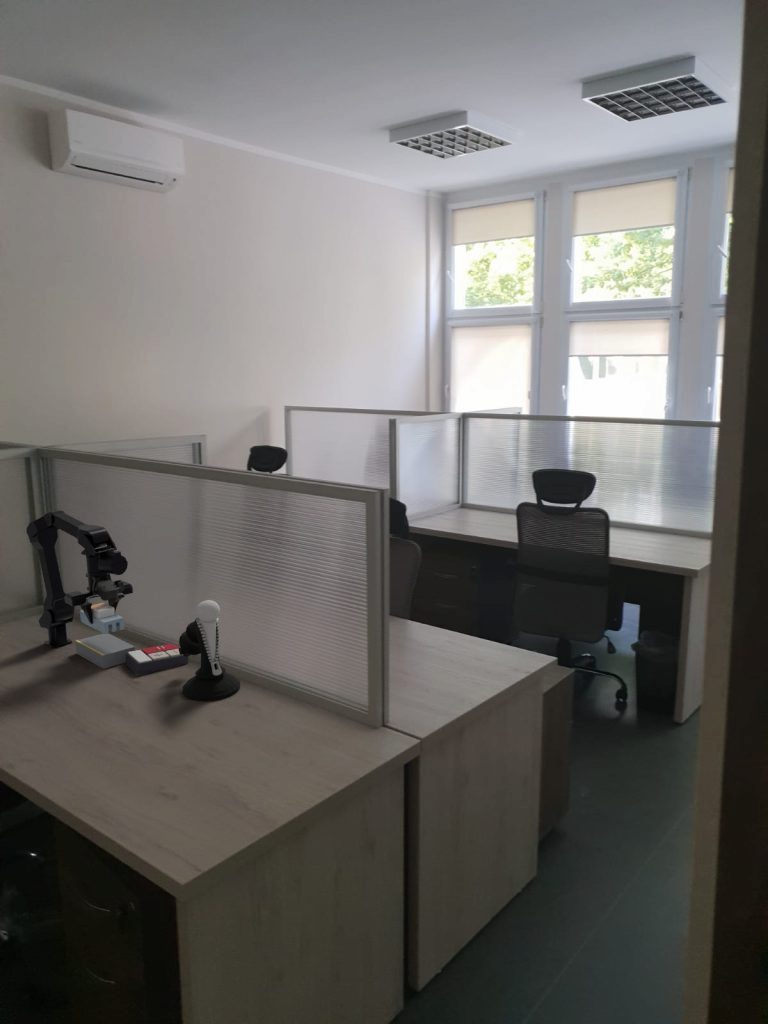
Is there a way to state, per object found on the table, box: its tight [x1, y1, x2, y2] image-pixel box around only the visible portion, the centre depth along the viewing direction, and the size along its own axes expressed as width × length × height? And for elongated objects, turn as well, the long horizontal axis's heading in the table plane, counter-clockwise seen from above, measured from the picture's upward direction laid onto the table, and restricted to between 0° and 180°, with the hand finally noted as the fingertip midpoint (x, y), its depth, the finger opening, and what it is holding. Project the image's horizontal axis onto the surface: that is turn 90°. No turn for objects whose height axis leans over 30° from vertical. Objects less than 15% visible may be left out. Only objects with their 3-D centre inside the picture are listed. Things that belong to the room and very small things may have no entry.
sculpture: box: [178, 599, 241, 702], centre depth 211 cm, size 15×24×25 cm, turn 38°
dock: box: [74, 633, 136, 670], centre depth 235 cm, size 18×10×4 cm, turn 45°
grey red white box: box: [125, 643, 190, 676], centre depth 229 cm, size 11×4×15 cm
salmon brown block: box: [91, 602, 108, 616], centre depth 234 cm, size 4×5×2 cm
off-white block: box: [93, 604, 116, 619], centre depth 231 cm, size 4×5×2 cm
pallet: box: [79, 609, 125, 634], centre depth 233 cm, size 16×6×4 cm, turn 45°
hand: (101, 621), depth 233 cm, fingers closed on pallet, 6 cm apart
